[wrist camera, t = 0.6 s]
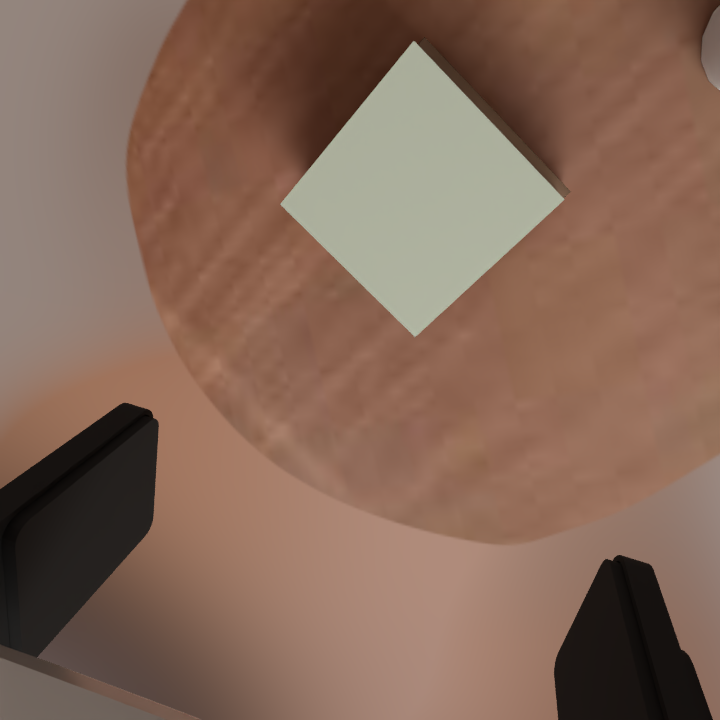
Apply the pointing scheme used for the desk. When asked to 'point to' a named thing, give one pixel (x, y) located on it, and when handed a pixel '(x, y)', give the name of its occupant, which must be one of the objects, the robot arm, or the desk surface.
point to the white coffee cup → (712, 49)
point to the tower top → (419, 193)
